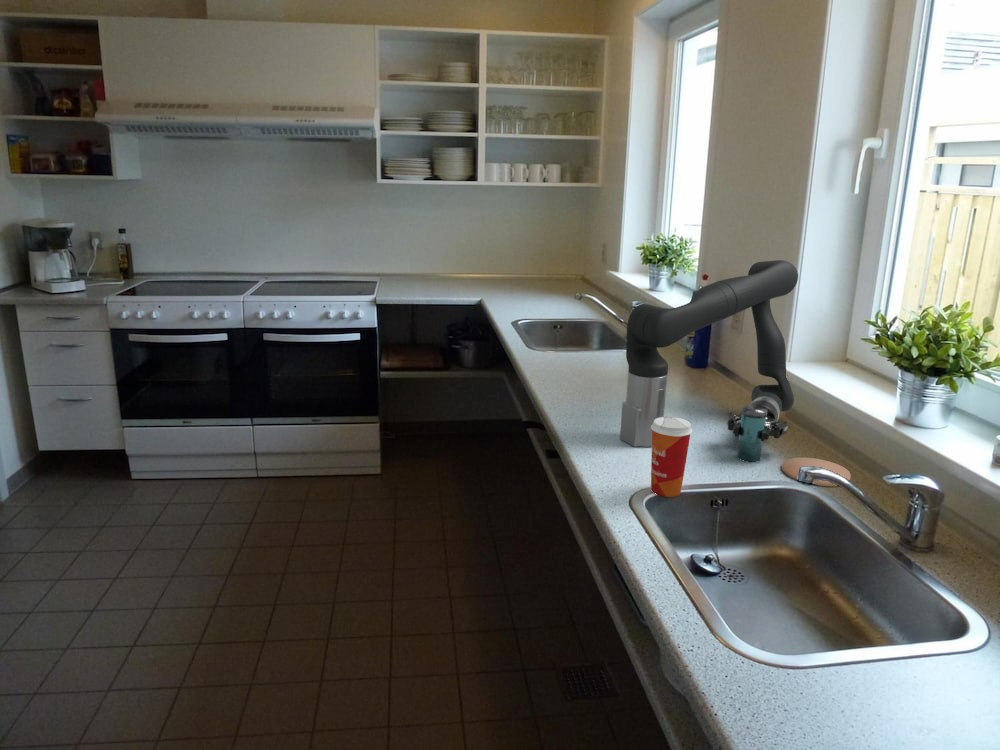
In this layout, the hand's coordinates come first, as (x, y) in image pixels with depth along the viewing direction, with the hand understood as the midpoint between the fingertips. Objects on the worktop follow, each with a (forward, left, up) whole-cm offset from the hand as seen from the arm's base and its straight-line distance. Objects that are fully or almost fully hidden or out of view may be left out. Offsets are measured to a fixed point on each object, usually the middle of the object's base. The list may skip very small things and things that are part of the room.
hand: (749, 434), depth 167 cm
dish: (+9, -12, -7) cm, 16 cm away
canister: (+2, +1, -7) cm, 7 cm away
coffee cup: (-28, -6, -7) cm, 29 cm away
